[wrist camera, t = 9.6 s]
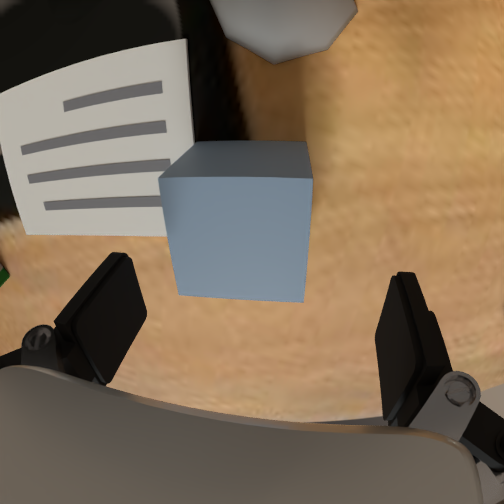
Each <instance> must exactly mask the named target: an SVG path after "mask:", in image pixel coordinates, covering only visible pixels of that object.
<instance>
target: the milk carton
mask: <svg viewBox="0 0 504 504" xmlns="http://www.w3.org/2000/svg"><path fill="white" fill-rule="evenodd" d="M9 277H10V275H9V274H8V273H7V271H6V270H5V269H4V267H3V266H2V265H1V263H0V287H1V286H2V285H3V284H4V282H5V281H6V280H7V279H8V278H9Z"/></svg>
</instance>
